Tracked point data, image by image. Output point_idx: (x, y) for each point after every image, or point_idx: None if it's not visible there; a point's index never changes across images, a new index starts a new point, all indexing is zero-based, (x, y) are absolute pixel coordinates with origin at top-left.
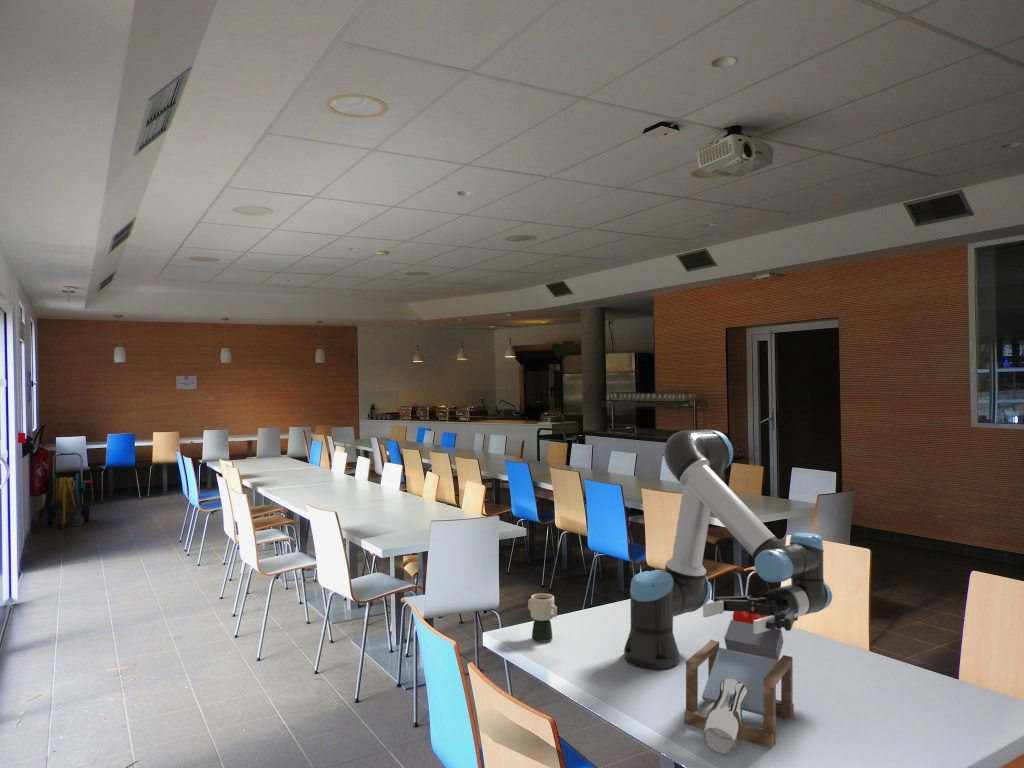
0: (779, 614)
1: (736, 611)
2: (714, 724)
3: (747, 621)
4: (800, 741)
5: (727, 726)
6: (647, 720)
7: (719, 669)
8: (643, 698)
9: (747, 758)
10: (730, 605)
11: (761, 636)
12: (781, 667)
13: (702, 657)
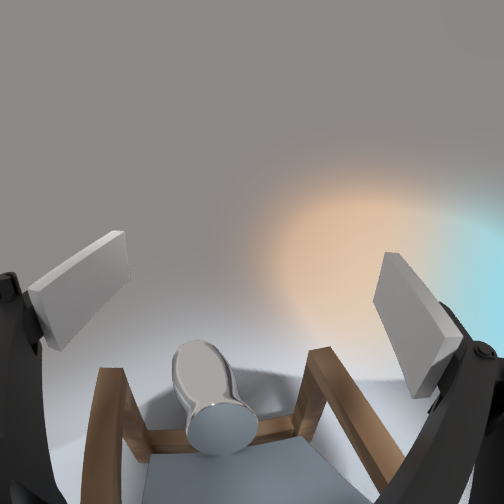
0: (3, 273)
1: None
2: (201, 342)
3: None
4: None
5: (182, 349)
6: None
7: (320, 483)
8: (411, 429)
9: (162, 395)
10: (435, 415)
11: None
12: (90, 464)
13: (334, 397)
